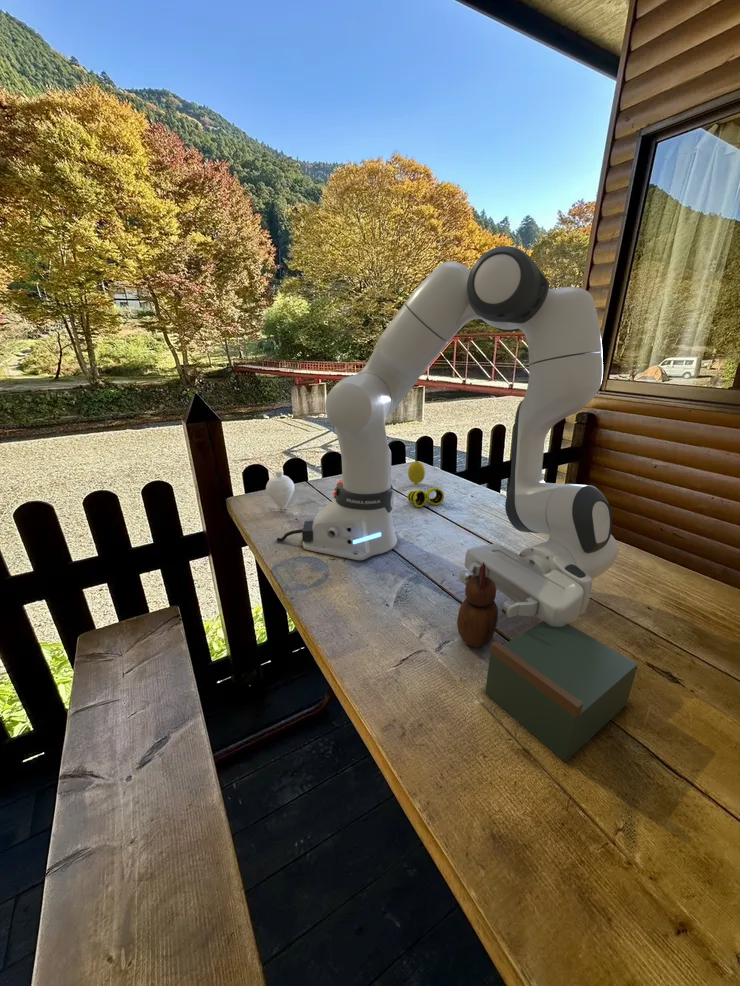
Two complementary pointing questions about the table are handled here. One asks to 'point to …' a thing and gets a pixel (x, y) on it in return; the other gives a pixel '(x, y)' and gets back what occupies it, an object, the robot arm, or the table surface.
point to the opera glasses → (420, 497)
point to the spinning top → (280, 489)
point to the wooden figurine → (478, 611)
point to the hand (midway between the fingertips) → (482, 594)
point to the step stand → (559, 684)
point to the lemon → (416, 472)
